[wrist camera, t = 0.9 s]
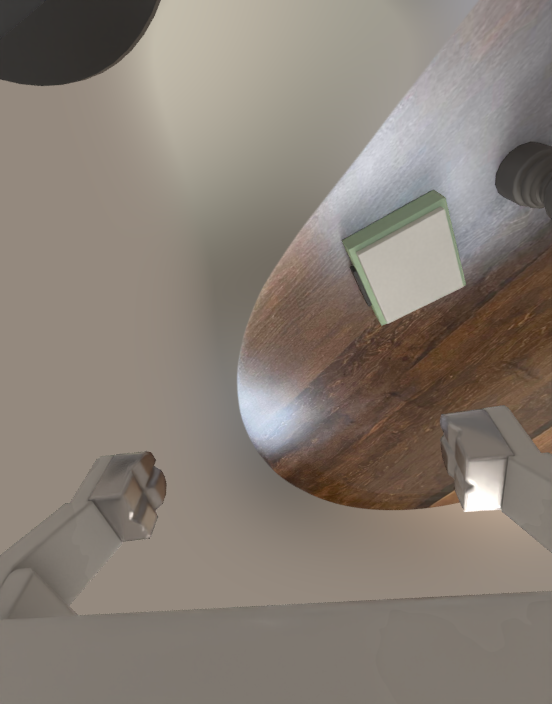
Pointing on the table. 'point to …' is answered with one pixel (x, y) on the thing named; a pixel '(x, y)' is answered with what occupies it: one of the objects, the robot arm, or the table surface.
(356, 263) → the scale
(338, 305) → the table surface
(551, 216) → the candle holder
